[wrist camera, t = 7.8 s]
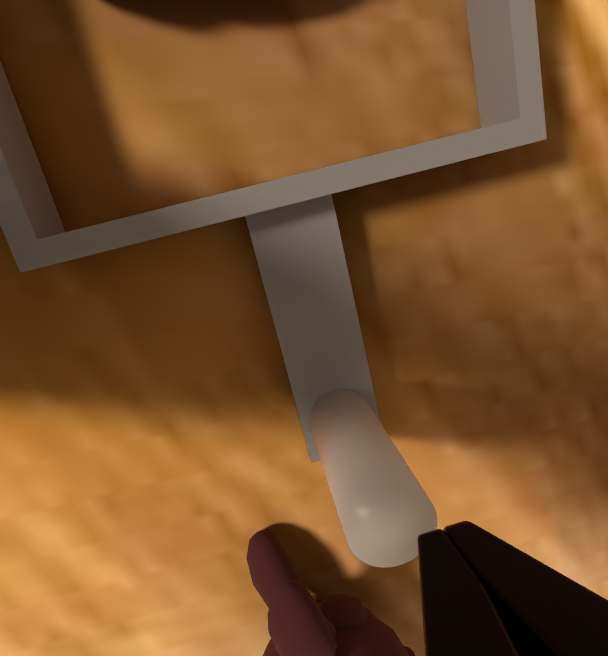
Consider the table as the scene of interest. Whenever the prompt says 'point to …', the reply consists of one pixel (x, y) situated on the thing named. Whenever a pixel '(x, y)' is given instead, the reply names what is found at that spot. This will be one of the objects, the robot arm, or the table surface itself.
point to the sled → (312, 270)
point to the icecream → (313, 612)
